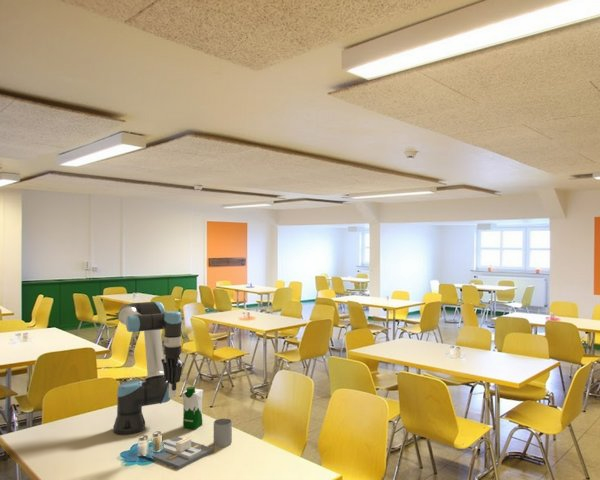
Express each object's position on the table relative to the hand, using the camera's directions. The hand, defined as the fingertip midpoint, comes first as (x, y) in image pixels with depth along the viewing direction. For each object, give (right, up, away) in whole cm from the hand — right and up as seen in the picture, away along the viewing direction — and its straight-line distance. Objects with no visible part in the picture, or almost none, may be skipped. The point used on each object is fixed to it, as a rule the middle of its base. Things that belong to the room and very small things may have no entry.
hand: (172, 396), depth 214 cm
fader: (+8, -21, -10) cm, 24 cm away
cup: (+23, -23, +2) cm, 32 cm away
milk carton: (+4, -23, +23) cm, 33 cm away
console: (+5, -22, -8) cm, 24 cm away
